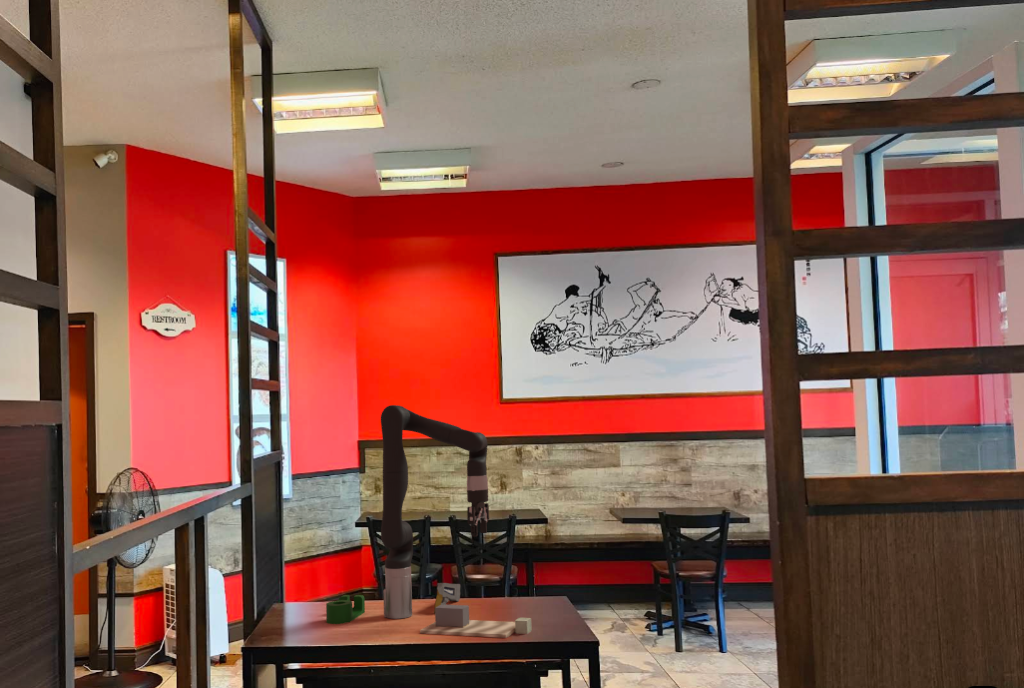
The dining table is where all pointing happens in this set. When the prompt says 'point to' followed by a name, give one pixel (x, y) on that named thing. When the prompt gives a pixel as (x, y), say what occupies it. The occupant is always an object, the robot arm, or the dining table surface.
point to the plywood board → (475, 629)
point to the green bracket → (344, 609)
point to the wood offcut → (523, 625)
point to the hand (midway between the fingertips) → (479, 534)
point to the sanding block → (452, 616)
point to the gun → (447, 594)
